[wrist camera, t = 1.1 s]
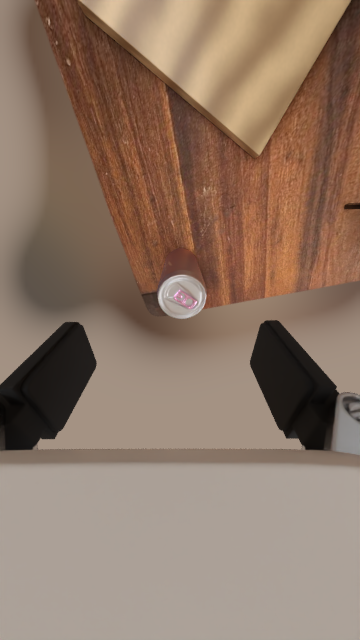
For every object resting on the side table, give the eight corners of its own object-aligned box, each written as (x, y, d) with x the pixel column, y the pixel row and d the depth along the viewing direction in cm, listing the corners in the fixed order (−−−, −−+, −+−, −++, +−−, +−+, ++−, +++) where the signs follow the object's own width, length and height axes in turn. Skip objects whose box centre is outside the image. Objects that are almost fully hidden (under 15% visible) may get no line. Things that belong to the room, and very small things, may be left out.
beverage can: (184, 285, 35) (187, 328, 22) (159, 268, 33) (146, 304, 20) (203, 260, 32) (218, 292, 20) (177, 240, 31) (175, 261, 18)
